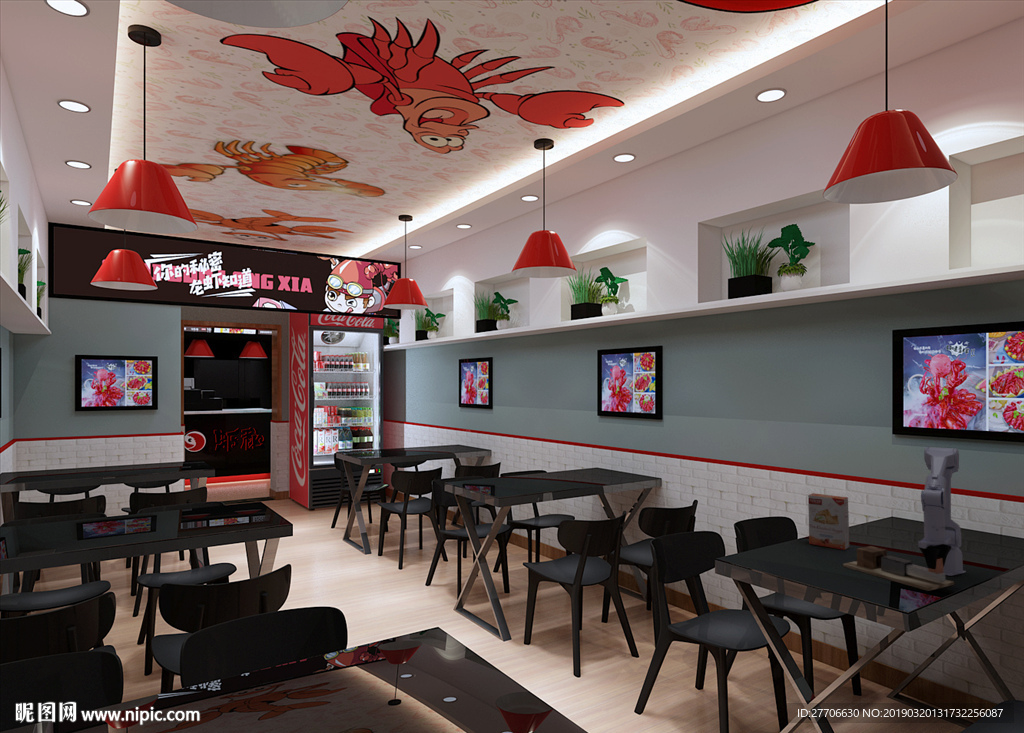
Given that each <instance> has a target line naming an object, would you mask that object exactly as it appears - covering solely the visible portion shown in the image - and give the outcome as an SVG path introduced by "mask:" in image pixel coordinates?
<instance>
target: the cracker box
mask: <svg viewBox="0 0 1024 733" xmlns="http://www.w3.org/2000/svg"><path fill="white" fill-rule="evenodd" d="M807 498H808V501H807V502H808V542H809V545H812V546H813V545H814V546H820V547H827V548H831V549H837V550H842V551H846V550H847V549H849V548H850V524H849V522H850V519H849V517H850V516H849V497H847V496H839V495H833V494H832V495H829V494H822V493H814V492H813V493H809V494H808V496H807Z"/></svg>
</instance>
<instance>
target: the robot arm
mask: <svg viewBox="0 0 1024 733" xmlns="http://www.w3.org/2000/svg"><path fill="white" fill-rule="evenodd" d="M923 456H924V457H923V458H924V459H923V460H924V462H925V465H926V467H927V470H929V471H930V473H929V474H928V475H926V477H925V478H926V479H925V483H924V489H923V490H921V493H920V502H921V508H922V512H923V533H924V534H923V536H924V537H923V538H922V539H921V540H918V548H919V550H920V551H921V554H922V555H923V557H924V560H925V564H926V566H927V567H926V568H931V569H936V563H937V557H941V558H943V572H945V576H948V577H951V576H957V575H960V574H965V573H966V570H964V568H963V567H964V566H963V563H964V562H963V552H962V550H961V549H960V548H961V547H962V532H961V526H960V525H959V524H958V523H957V522H956V521H955V520H953V519H952V476H953V474H954V473H957V472H958V471H959V469H960V452H959V449H958V448H957V447H955V448H951V447H950V448H949V447H933V446H931V447H930V446H926V447H925V448H924V451H923Z"/></svg>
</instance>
